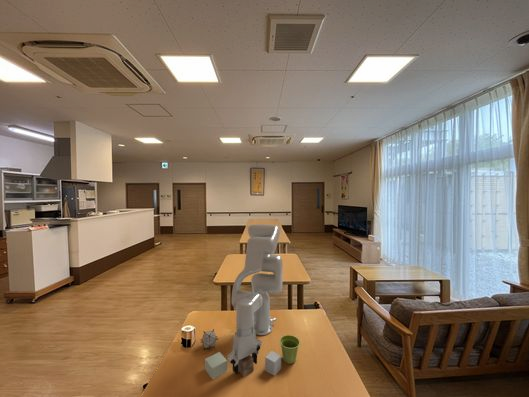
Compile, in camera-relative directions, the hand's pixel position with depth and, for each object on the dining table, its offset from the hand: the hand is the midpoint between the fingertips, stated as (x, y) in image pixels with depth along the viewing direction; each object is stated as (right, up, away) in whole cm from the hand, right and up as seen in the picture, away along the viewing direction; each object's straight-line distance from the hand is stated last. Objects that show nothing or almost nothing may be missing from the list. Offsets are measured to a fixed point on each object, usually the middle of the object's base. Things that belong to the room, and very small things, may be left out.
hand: (245, 367), depth 101 cm
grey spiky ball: (-20, -1, +15) cm, 25 cm away
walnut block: (0, -2, 0) cm, 2 cm away
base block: (-13, -2, 0) cm, 13 cm away
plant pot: (+20, -2, +7) cm, 21 cm away
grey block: (+12, -2, +1) cm, 12 cm away
